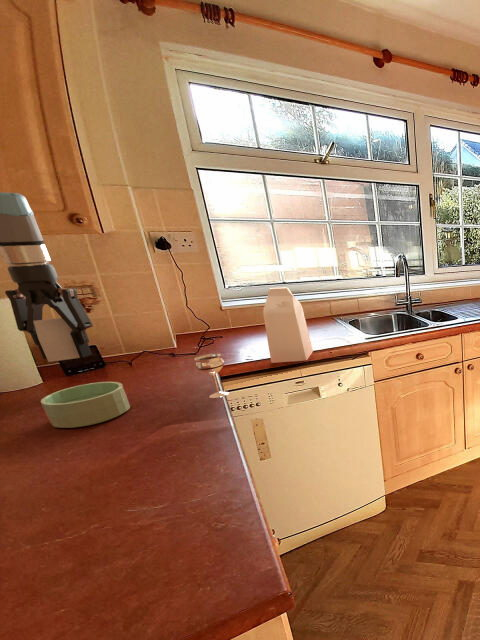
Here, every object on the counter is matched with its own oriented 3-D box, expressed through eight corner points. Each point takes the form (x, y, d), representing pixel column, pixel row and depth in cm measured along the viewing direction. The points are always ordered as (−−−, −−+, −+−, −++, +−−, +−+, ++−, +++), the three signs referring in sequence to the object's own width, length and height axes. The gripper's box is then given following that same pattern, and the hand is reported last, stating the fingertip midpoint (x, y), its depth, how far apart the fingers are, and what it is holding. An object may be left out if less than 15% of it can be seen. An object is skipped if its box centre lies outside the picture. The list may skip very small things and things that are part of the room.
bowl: (34, 431, 106) (22, 406, 103) (86, 405, 120) (76, 382, 118) (100, 428, 107) (90, 403, 105) (144, 403, 122) (136, 380, 119)
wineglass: (234, 389, 131) (224, 352, 127) (228, 397, 125) (217, 359, 121) (209, 392, 129) (198, 354, 125) (202, 400, 123) (190, 361, 119)
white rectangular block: (85, 356, 108) (70, 318, 104) (48, 362, 104) (31, 322, 101) (88, 353, 111) (73, 315, 107) (52, 358, 107) (35, 319, 104)
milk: (313, 351, 167) (300, 285, 158) (306, 360, 157) (292, 289, 147) (280, 353, 165) (265, 286, 156) (271, 362, 155) (254, 291, 145)
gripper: (90, 262, 103) (122, 350, 112) (-2, 263, 102) (38, 353, 110) (62, 265, 96) (99, 359, 105) (-37, 266, 95) (9, 362, 103)
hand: (68, 356), depth 108 cm, fingers closed on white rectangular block, 8 cm apart
